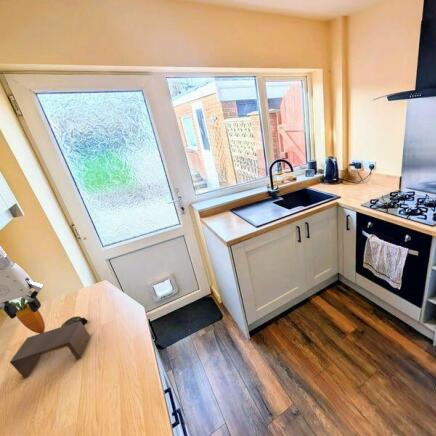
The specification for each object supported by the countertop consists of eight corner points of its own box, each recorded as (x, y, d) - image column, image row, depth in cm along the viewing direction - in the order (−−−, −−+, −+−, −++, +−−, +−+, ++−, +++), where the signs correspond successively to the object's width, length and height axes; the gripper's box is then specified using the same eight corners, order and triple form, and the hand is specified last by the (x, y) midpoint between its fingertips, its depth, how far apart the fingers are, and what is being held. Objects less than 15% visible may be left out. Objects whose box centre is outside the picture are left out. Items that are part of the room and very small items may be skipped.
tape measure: (71, 337, 94) (66, 331, 93) (60, 333, 97) (56, 326, 95) (89, 323, 100) (85, 317, 98) (79, 320, 102) (75, 313, 101)
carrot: (29, 338, 81) (1, 304, 75) (45, 326, 86) (21, 293, 79) (39, 340, 80) (13, 305, 74) (55, 327, 84) (32, 294, 78)
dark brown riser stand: (23, 377, 81) (9, 362, 77) (39, 352, 89) (27, 337, 86) (80, 357, 86) (69, 342, 82) (90, 335, 94) (80, 320, 91)
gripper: (-59, 282, 65) (-16, 331, 73) (21, 263, 70) (53, 310, 78) (-37, 267, 72) (0, 313, 79) (34, 251, 77) (63, 295, 84)
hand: (26, 311), depth 79 cm, fingers closed on carrot, 4 cm apart
